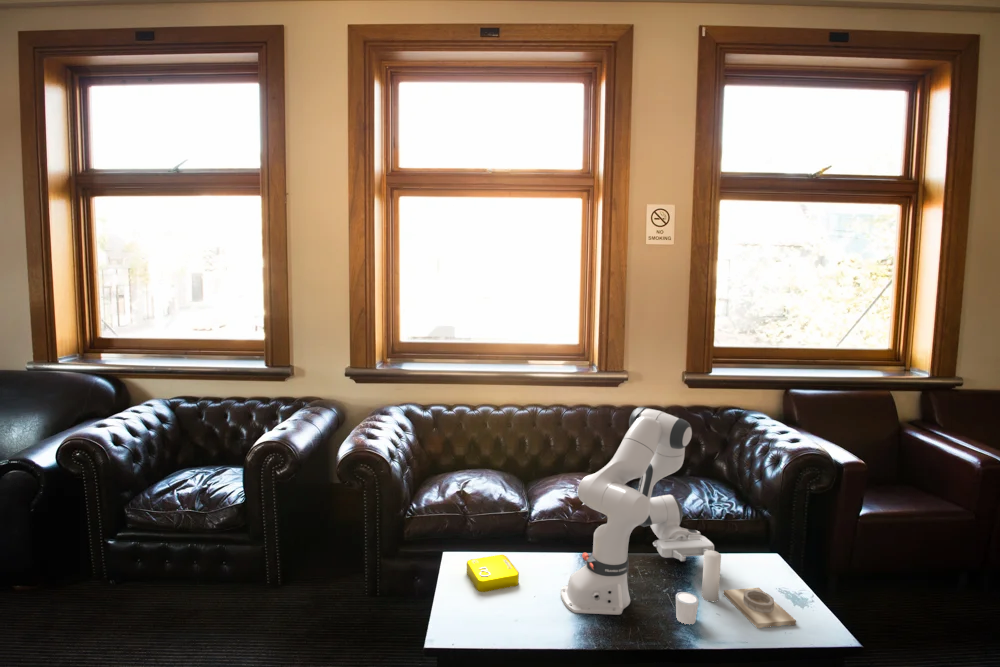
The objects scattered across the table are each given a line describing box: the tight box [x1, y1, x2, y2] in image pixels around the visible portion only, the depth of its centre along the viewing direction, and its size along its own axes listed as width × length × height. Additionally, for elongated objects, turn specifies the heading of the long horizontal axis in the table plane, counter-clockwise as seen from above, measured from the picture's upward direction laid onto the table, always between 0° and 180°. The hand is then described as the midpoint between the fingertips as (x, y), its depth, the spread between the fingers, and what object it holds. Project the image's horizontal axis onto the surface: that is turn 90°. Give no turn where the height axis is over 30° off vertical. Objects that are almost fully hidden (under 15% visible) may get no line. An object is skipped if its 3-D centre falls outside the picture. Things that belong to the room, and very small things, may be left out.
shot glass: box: [675, 591, 700, 626], centre depth 169 cm, size 7×7×7 cm
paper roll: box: [701, 550, 722, 603], centre depth 181 cm, size 5×5×15 cm
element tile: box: [466, 554, 520, 593], centre depth 190 cm, size 15×15×5 cm
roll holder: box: [723, 587, 797, 629], centre depth 176 cm, size 13×18×4 cm
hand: (696, 558), depth 190 cm, fingers open, 8 cm apart
